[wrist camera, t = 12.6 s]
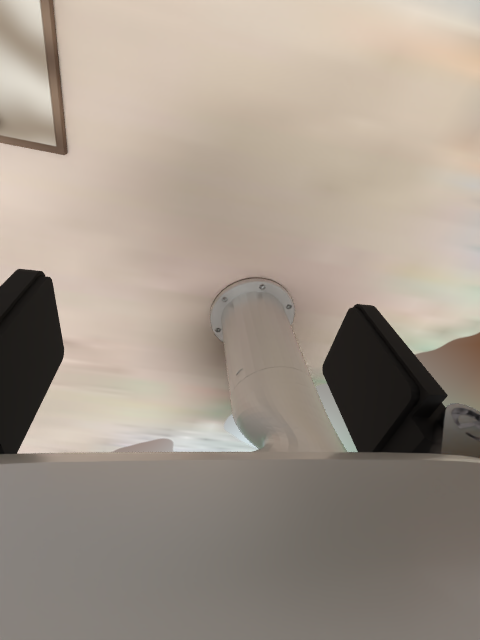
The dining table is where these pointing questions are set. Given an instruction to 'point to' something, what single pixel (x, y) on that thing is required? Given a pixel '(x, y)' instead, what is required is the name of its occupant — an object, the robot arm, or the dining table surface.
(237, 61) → the dining table surface
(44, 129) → the framed striped panel
